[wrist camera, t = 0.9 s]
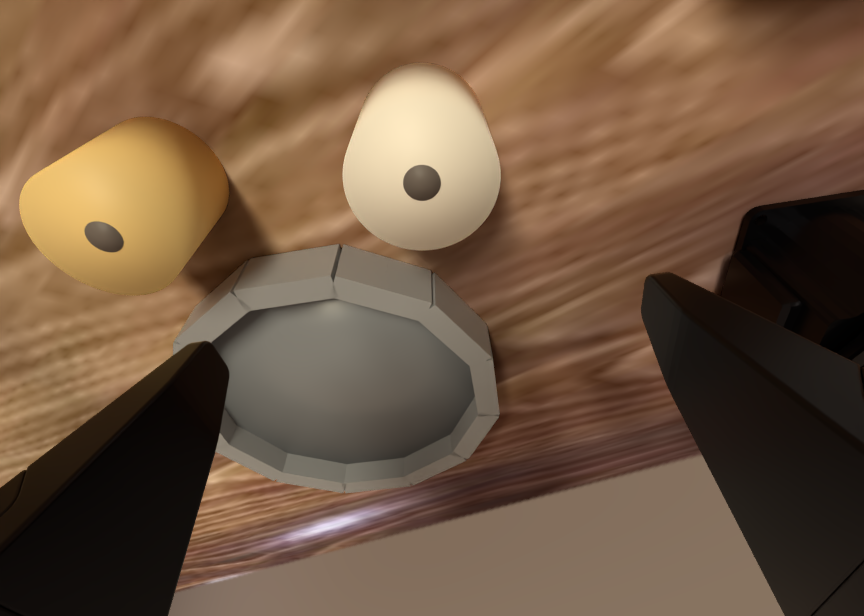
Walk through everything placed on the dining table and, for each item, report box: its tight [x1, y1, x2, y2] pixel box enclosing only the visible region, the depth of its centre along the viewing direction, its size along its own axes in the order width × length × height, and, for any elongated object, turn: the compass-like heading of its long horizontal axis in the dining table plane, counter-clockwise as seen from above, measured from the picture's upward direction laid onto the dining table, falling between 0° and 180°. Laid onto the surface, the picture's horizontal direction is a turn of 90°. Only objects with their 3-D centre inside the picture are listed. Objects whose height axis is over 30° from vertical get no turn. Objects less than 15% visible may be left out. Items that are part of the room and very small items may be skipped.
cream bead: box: [343, 63, 501, 250], centre depth 16 cm, size 5×5×5 cm
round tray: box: [173, 244, 500, 493], centre depth 26 cm, size 17×17×3 cm
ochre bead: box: [19, 117, 229, 295], centre depth 17 cm, size 5×5×5 cm
